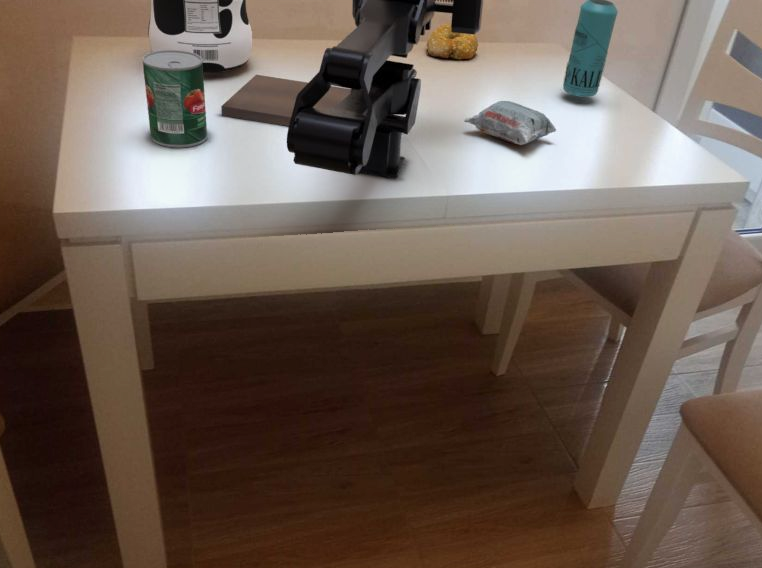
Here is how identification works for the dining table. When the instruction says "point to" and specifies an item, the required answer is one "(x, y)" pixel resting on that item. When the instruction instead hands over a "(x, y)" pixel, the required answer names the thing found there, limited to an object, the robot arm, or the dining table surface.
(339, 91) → the bread board
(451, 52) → the bagel
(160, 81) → the canned tomato
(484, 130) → the packaged food
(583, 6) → the beverage bottle
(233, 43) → the milk container
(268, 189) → the dining table surface
